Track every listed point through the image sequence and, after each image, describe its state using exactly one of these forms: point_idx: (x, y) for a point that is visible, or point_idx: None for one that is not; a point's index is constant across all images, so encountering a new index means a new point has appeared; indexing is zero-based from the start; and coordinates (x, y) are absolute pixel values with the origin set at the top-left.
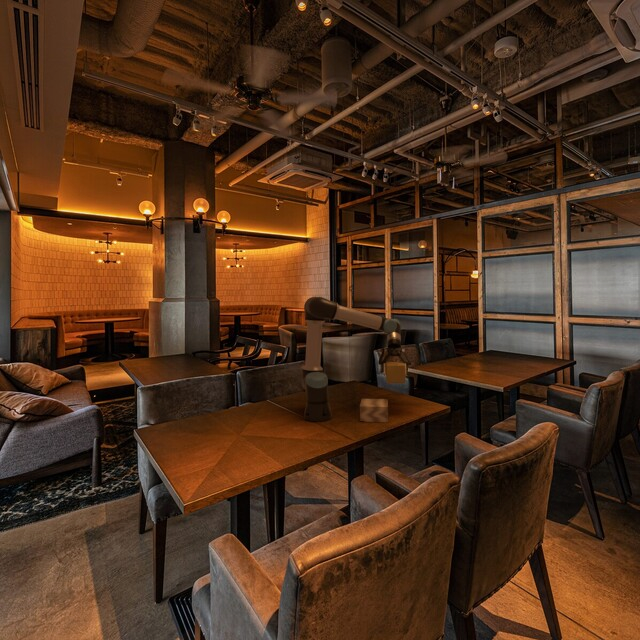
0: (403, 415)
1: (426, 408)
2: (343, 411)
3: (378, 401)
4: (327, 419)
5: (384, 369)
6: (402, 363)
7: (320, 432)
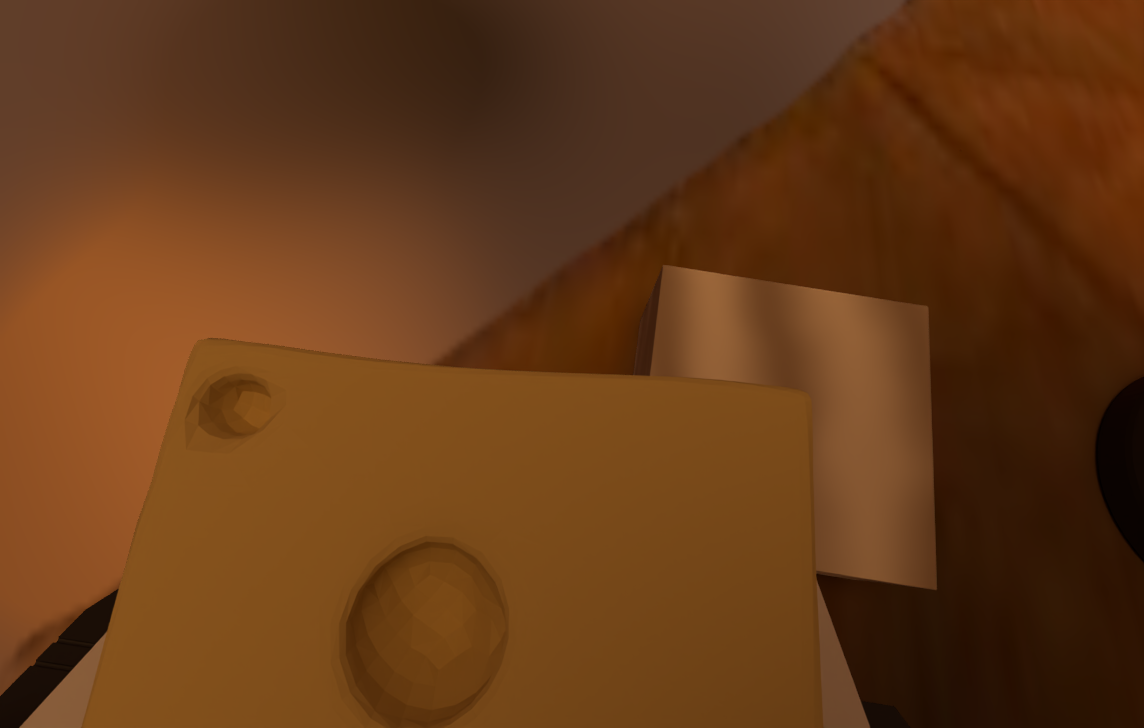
0: None
1: None
2: (1032, 645)
3: None
4: (1120, 397)
5: None
6: (154, 691)
7: (1091, 179)
